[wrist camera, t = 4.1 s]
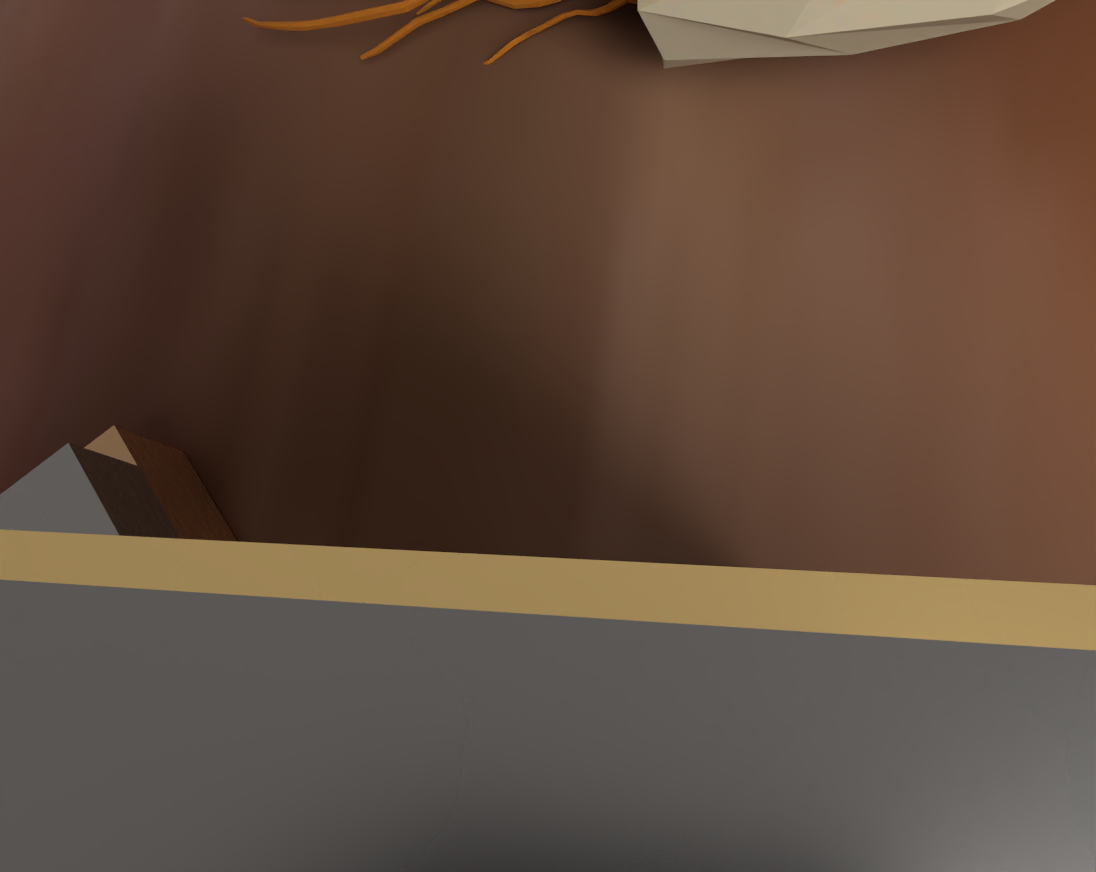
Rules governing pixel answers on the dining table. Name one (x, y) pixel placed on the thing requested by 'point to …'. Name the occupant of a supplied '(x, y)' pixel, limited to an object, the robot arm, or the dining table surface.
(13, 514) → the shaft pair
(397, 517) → the dining table surface
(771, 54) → the nautilus
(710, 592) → the block
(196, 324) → the dining table surface
